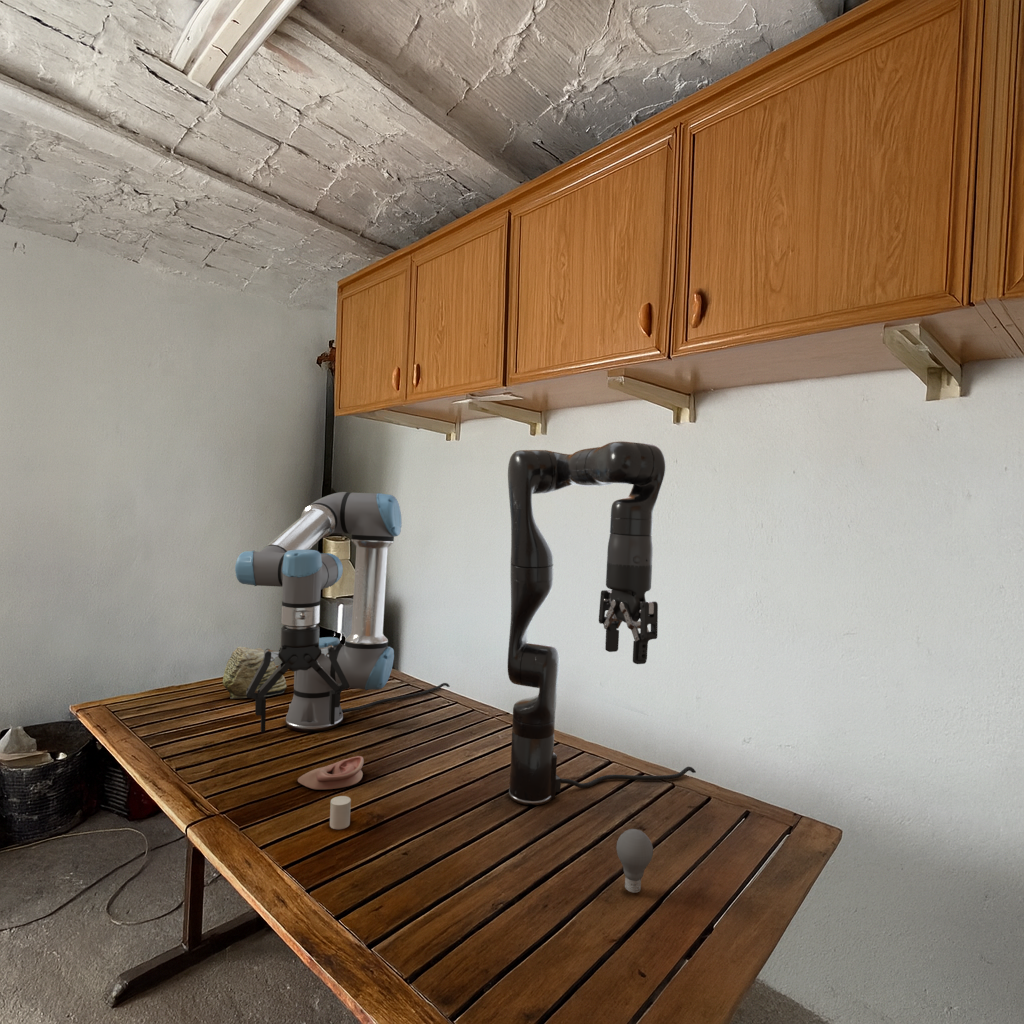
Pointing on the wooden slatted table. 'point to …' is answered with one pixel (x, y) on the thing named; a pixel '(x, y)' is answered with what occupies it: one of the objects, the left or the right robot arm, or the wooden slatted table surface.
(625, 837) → the light bulb
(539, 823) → the wooden slatted table surface
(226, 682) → the fossil
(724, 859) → the wooden slatted table surface
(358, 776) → the anatomical model
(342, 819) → the canister
